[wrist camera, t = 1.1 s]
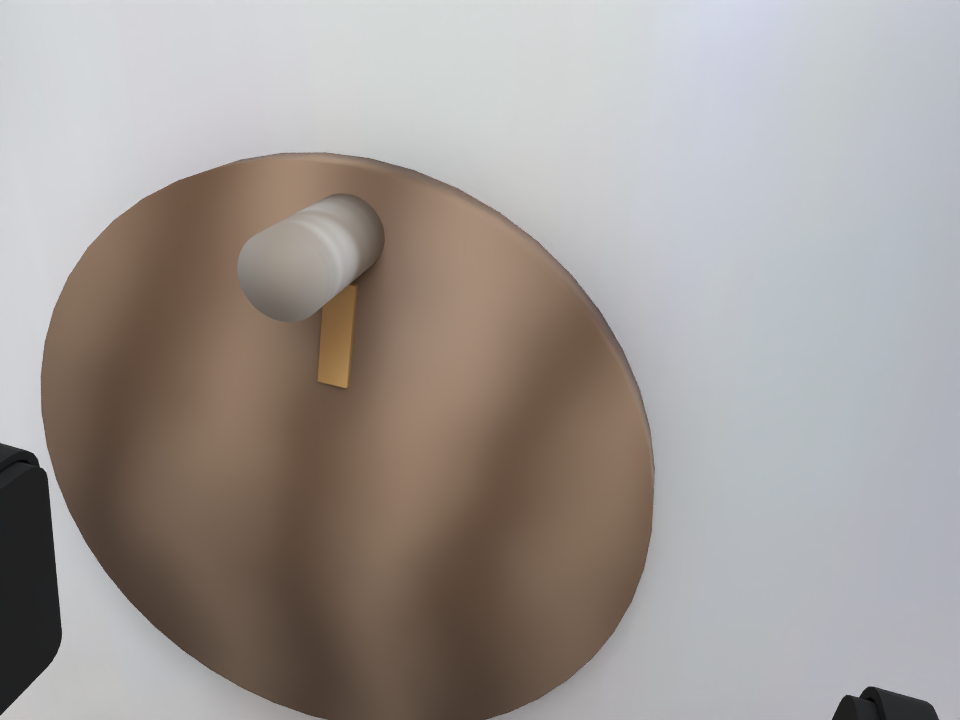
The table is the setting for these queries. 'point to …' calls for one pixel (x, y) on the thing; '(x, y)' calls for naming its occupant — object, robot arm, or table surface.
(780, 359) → the table surface
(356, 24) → the table surface
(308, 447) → the turntable platter
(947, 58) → the table surface
